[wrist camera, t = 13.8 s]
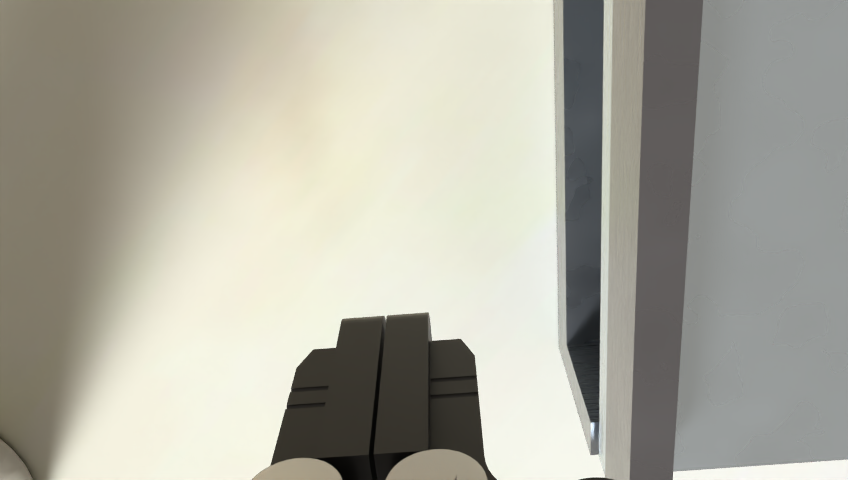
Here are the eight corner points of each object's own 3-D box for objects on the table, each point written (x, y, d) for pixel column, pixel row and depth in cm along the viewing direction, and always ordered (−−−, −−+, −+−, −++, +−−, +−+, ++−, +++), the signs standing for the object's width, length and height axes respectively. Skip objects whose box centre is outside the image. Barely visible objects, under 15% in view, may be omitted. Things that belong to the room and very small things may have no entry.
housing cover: (598, 455, 26) (627, 548, 23) (607, -296, 17) (657, -342, 14) (855, 437, 26) (925, 528, 22) (1000, -337, 17) (1158, -396, 13)
